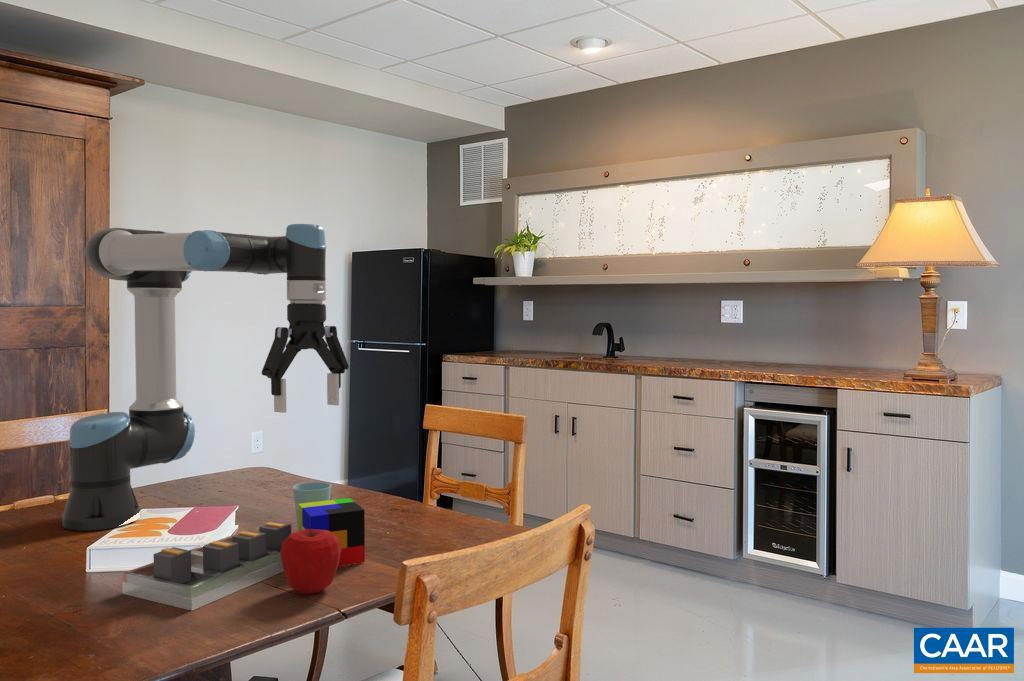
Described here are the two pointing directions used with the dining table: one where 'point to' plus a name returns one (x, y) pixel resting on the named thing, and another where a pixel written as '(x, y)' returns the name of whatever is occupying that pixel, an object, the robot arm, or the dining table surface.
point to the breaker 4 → (275, 534)
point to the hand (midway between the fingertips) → (307, 408)
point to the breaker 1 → (173, 565)
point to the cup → (311, 493)
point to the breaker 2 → (220, 556)
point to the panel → (204, 596)
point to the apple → (310, 559)
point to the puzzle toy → (337, 525)
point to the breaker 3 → (250, 545)
